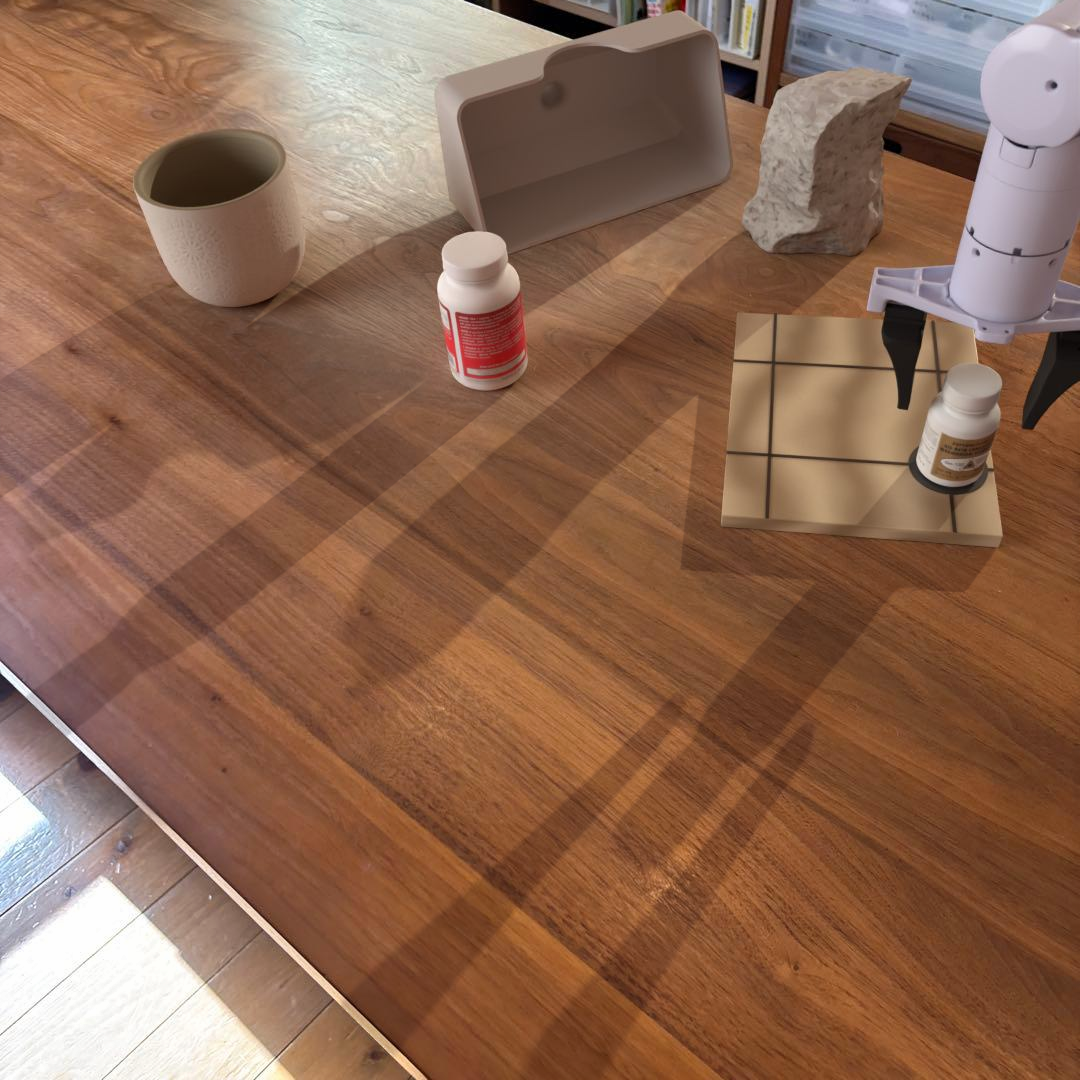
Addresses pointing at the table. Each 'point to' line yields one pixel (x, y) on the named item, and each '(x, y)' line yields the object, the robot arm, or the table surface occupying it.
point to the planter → (224, 215)
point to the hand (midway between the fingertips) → (965, 409)
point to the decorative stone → (824, 163)
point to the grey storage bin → (585, 130)
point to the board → (843, 434)
